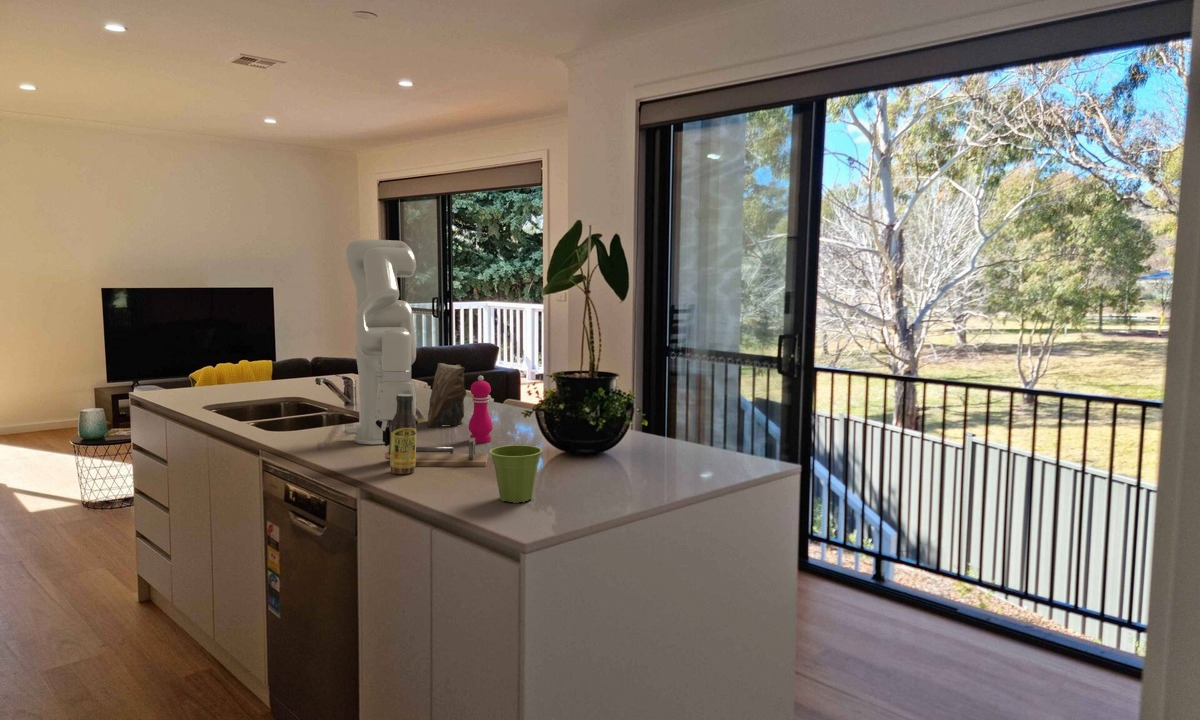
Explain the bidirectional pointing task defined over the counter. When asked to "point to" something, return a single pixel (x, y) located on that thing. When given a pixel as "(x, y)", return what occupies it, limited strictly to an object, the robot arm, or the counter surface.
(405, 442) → the sauce bottle
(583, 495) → the counter surface
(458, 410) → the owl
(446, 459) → the board
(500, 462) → the plant pot
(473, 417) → the pepper mill
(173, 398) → the counter surface
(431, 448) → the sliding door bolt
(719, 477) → the counter surface
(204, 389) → the counter surface
